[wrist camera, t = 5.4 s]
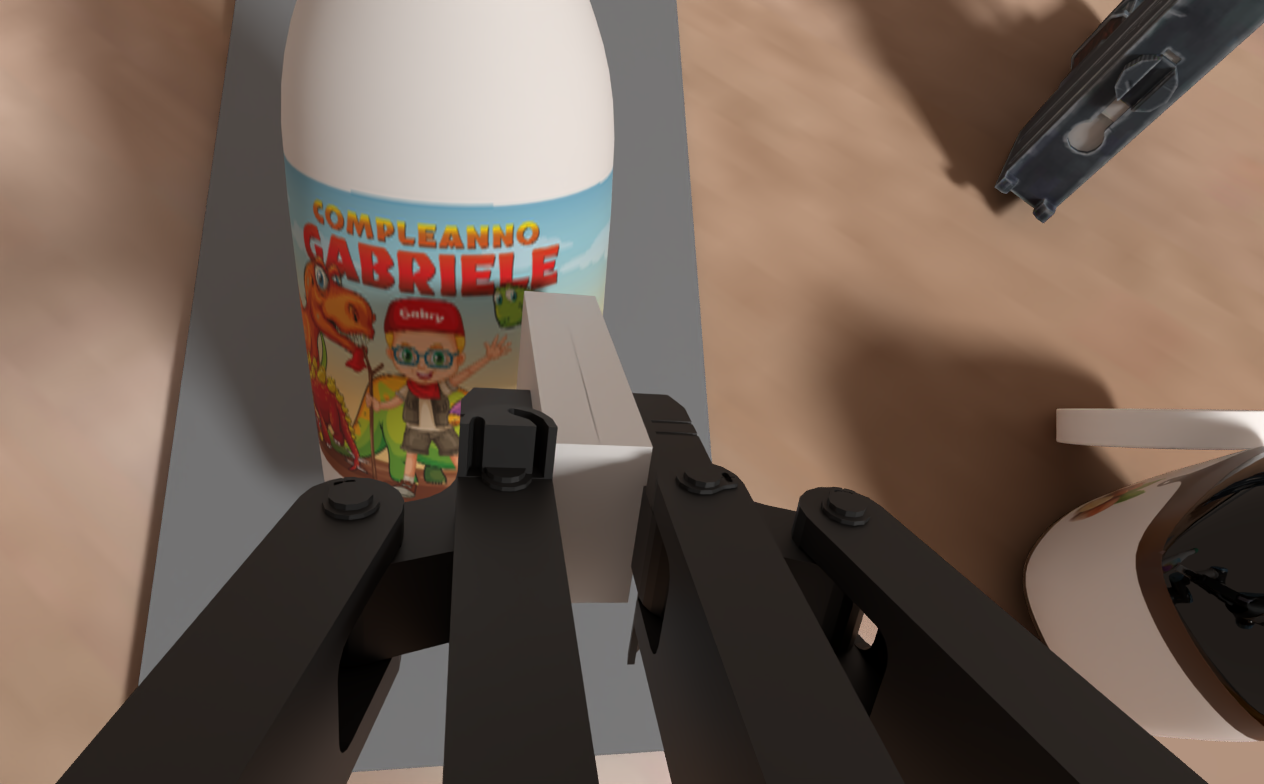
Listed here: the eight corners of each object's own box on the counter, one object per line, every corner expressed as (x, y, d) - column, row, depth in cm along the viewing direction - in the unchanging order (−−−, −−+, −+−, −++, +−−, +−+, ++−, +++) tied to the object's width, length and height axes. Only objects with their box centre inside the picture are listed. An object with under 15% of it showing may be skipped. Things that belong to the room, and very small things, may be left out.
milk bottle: (335, 430, 28) (238, -370, 17) (563, 416, 29) (609, -307, 19) (320, 605, 21) (152, -485, 10) (610, 572, 23) (721, -373, 12)
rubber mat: (727, 744, 28) (733, 746, 27) (131, 784, 24) (123, 787, 23) (668, -42, 39) (672, -53, 38) (255, -106, 35) (252, -119, 34)
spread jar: (1078, 763, 30) (1433, 808, 19) (911, 492, 32) (1147, 396, 22) (1270, 604, 34) (1650, 568, 24) (1110, 372, 36) (1391, 243, 26)
